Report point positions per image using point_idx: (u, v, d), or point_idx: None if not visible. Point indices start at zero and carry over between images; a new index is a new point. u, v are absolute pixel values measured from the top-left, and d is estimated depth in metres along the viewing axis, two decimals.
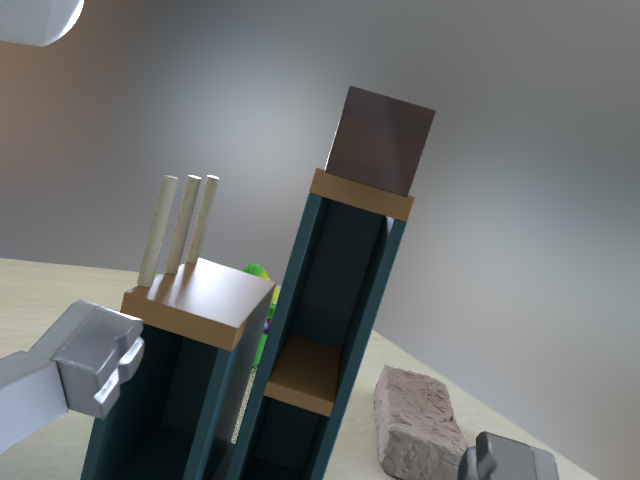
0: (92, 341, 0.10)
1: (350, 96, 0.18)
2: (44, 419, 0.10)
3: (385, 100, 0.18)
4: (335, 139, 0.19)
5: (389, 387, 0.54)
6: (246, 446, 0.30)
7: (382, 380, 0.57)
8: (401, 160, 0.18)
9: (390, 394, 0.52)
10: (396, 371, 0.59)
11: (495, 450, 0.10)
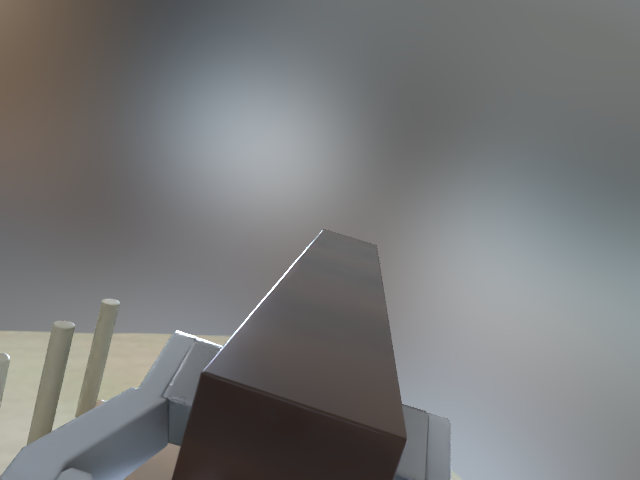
0: (198, 376, 0.10)
1: (203, 395, 0.08)
2: (148, 454, 0.10)
3: (286, 409, 0.08)
4: None
5: None
6: None
7: None
8: None
9: None
10: None
11: None
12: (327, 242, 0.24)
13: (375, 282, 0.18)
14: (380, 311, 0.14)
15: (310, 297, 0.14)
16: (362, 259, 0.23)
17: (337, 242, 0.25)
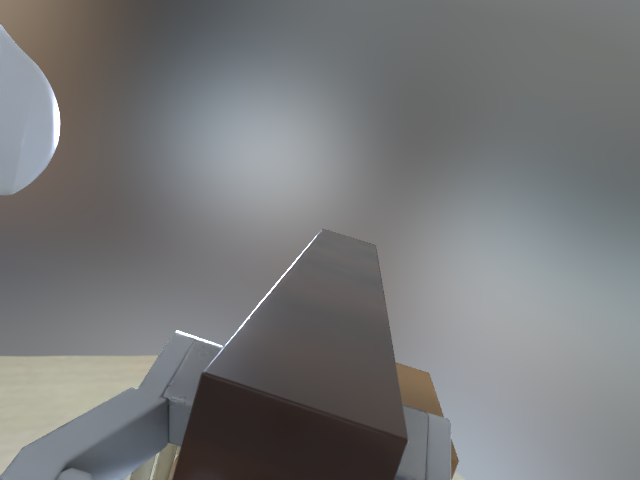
0: (198, 376, 0.10)
1: (204, 396, 0.08)
2: (148, 454, 0.10)
3: (286, 409, 0.08)
4: None
5: None
6: None
7: None
8: None
9: None
10: None
11: None
12: (326, 242, 0.24)
13: (374, 282, 0.18)
14: (380, 311, 0.14)
15: (310, 297, 0.14)
16: (361, 259, 0.22)
17: (336, 242, 0.25)
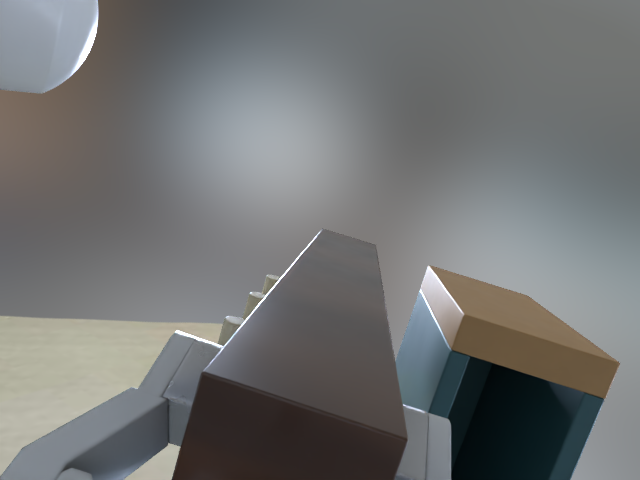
0: (198, 376, 0.10)
1: (203, 396, 0.08)
2: (148, 454, 0.10)
3: (286, 409, 0.08)
4: None
5: None
6: None
7: None
8: None
9: None
10: None
11: None
12: (326, 242, 0.24)
13: (374, 282, 0.18)
14: (380, 311, 0.14)
15: (310, 296, 0.14)
16: (361, 259, 0.22)
17: (336, 242, 0.25)
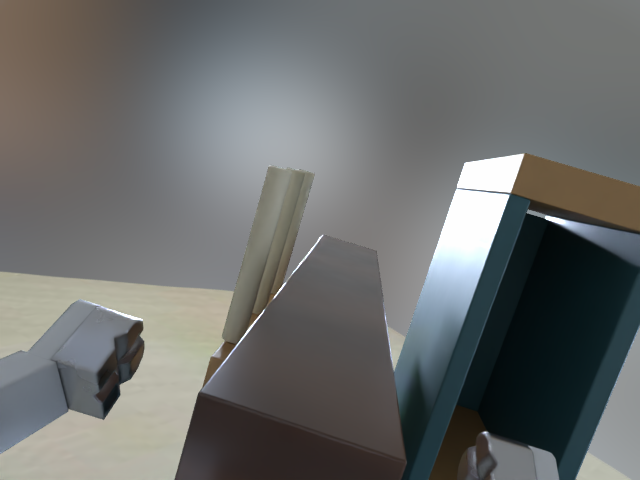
0: (92, 341, 0.10)
1: (201, 416, 0.08)
2: (44, 419, 0.10)
3: (284, 430, 0.07)
4: None
5: None
6: None
7: None
8: None
9: None
10: None
11: (495, 450, 0.10)
12: (327, 249, 0.24)
13: (375, 291, 0.18)
14: (380, 322, 0.14)
15: (309, 308, 0.14)
16: (362, 266, 0.22)
17: (337, 248, 0.25)
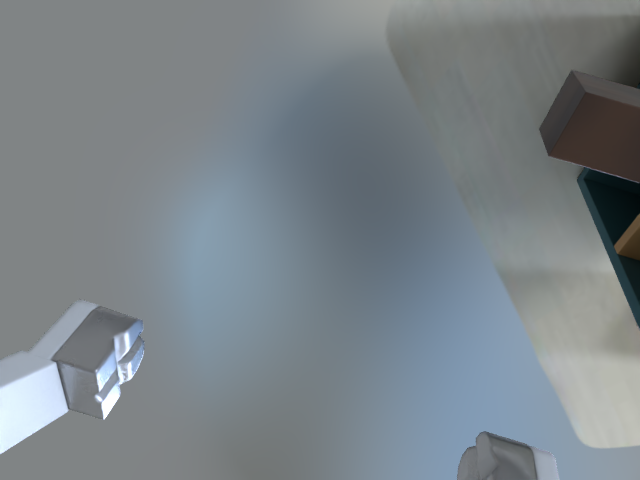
0: (92, 341, 0.10)
1: (582, 92, 0.22)
2: (45, 419, 0.10)
3: (568, 120, 0.23)
4: (576, 79, 0.24)
5: None
6: None
7: None
8: (548, 127, 0.25)
9: None
10: None
11: (495, 450, 0.10)
12: None
13: None
14: None
15: None
16: None
17: None
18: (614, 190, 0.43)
